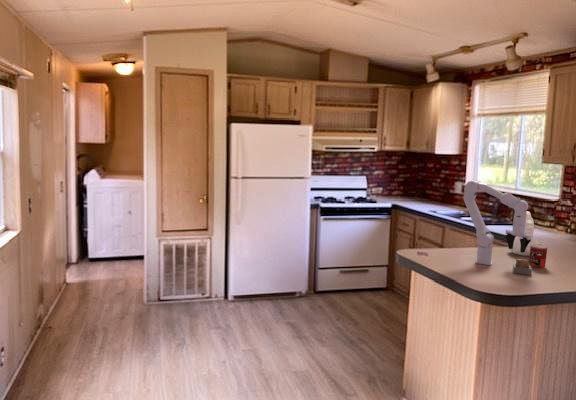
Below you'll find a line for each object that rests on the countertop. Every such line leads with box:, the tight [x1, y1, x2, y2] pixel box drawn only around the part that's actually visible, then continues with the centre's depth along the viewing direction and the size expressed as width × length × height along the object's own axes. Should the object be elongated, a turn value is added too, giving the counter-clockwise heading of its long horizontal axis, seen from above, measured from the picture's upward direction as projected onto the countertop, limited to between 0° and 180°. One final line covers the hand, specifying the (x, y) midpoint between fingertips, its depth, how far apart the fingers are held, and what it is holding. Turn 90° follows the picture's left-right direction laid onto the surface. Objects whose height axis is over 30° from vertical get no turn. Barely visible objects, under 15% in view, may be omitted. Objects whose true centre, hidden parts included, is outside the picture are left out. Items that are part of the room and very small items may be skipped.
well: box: [512, 263, 533, 277], centre depth 255 cm, size 8×8×3 cm
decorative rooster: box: [508, 210, 539, 257], centre depth 291 cm, size 25×16×25 cm, turn 152°
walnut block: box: [515, 258, 529, 268], centre depth 254 cm, size 4×4×6 cm
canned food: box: [528, 244, 548, 269], centre depth 268 cm, size 8×8×11 cm
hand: (516, 250), depth 261 cm, fingers open, 7 cm apart
